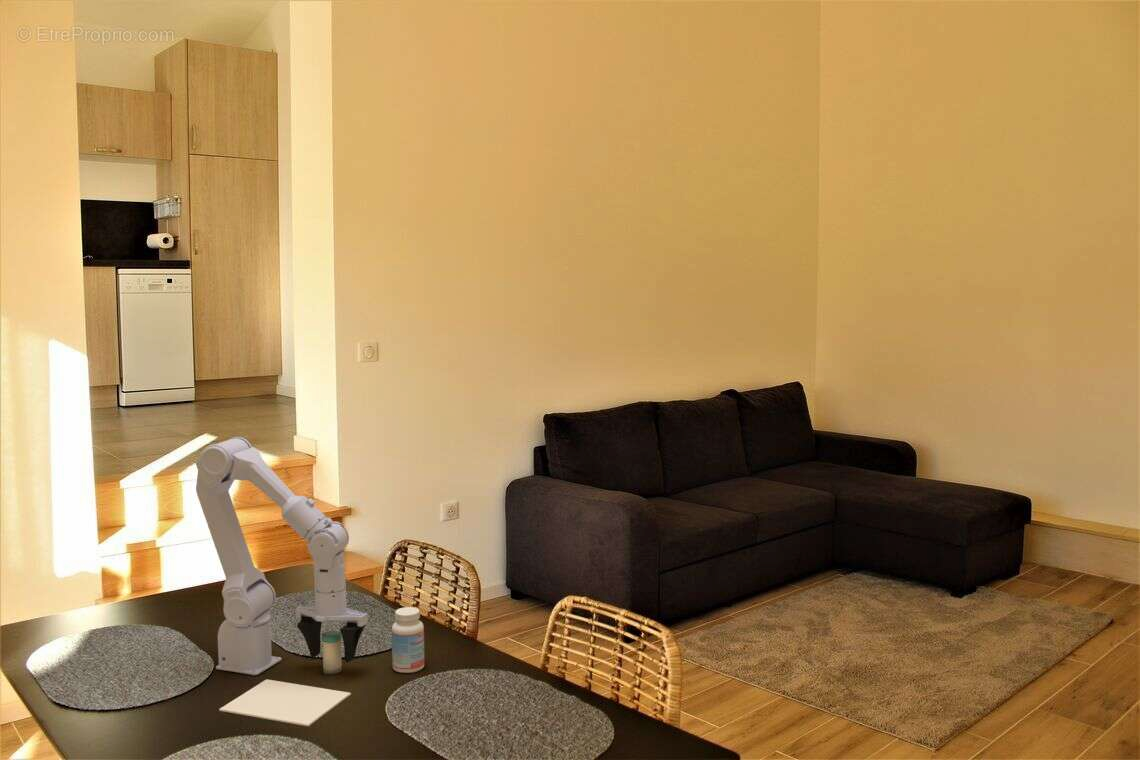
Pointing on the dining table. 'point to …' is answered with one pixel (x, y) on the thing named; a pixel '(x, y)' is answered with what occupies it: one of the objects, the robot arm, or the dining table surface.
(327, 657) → the green lidded jar
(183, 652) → the dining table surface
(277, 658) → the robot arm
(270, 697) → the paper
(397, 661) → the pill bottle
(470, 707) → the dining table surface
